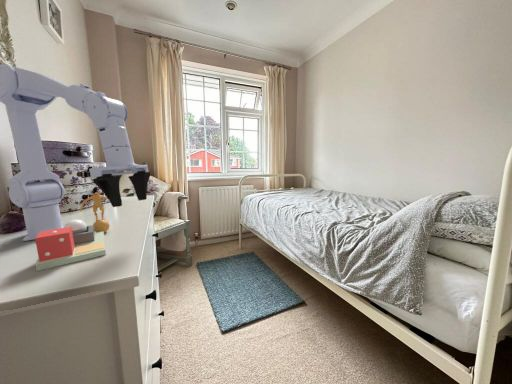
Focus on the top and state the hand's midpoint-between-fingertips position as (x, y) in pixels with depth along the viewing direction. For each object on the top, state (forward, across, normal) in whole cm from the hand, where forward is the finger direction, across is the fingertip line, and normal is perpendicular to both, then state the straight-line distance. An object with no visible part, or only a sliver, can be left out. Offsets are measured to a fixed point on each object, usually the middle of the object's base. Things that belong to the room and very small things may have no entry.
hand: (130, 203), depth 52 cm
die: (+8, -11, +10) cm, 17 cm away
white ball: (+6, -4, +15) cm, 17 cm away
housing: (+7, -4, +15) cm, 17 cm away
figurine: (+8, +4, +18) cm, 20 cm away
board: (+9, -7, +12) cm, 16 cm away
